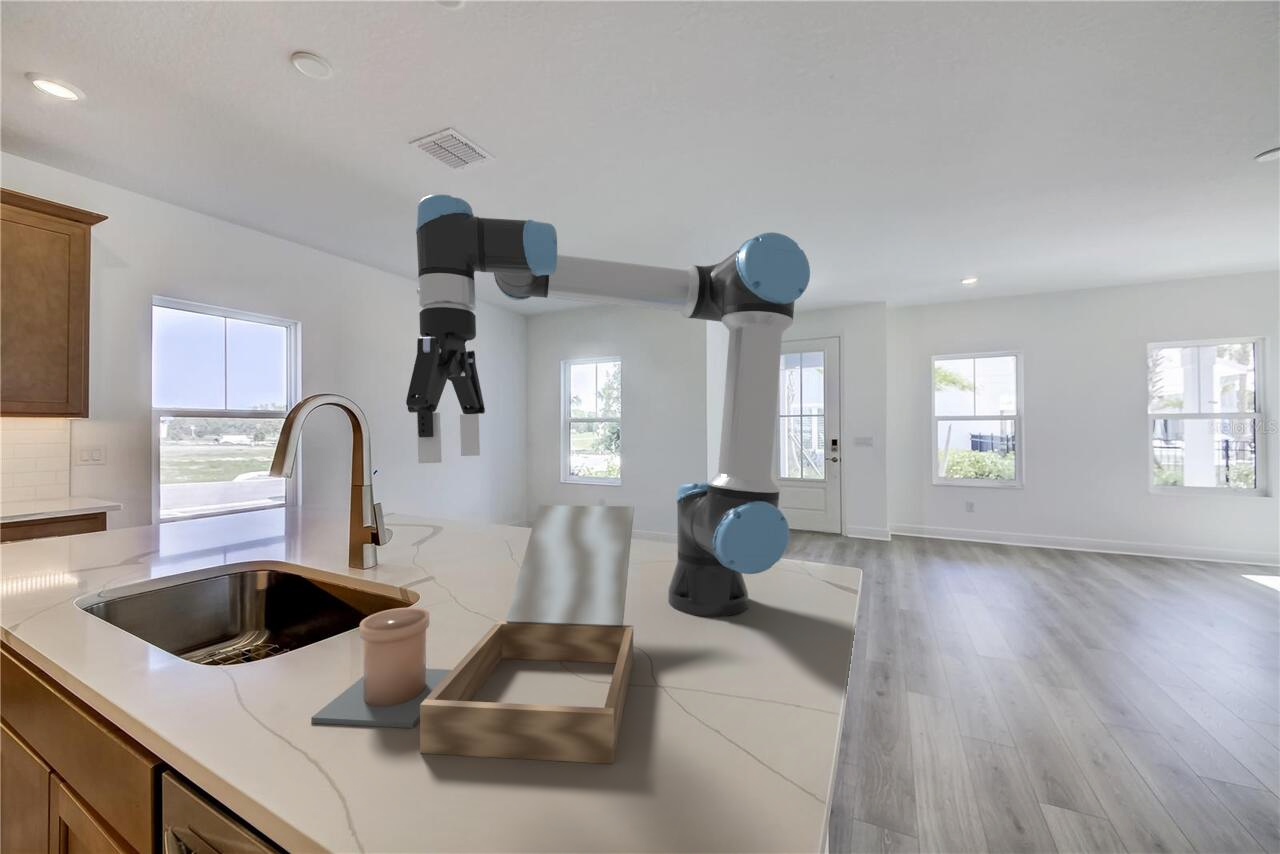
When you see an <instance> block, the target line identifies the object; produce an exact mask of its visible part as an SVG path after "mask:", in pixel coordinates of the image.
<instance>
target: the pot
mask: <svg viewBox="0 0 1280 854" xmlns="http://www.w3.org/2000/svg"><path fill="white" fill-rule="evenodd" d="M429 627H430V612H429V611H428V610H426V609H424V608H419V607H399V608H391V609H386V610H382V611H378V612H376V613H372V614H370V615H369V616H367V617H365V618H364V619H362V620H361V621H360V623H359V637H360V639H361V640H363V644H362V645H363V647H362V648H363V659H362V660H363V661H362V662H363V667H362V668H363V671H362V672H363V676H364V702H365V703H367V704H368V705H371V706H376V707H387V706H394V705H398V704H402V703H405V702H407V701H410V700H412V699H414V698H416V697H417V696H419V695H420V694H421V693H422V692H423V691H424V690H425V688H426V669H427V629H428V628H429Z"/></svg>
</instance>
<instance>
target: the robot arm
mask: <svg viewBox="0 0 1280 854" xmlns="http://www.w3.org/2000/svg"><path fill="white" fill-rule="evenodd" d="M416 215H417V220H416V221H417V222H416V223H417V224H416V229H415V232H416V233H415V235H416V247H417V248H416V249H417V251H416V252H417V268H418V269H417V270H418V271H417V273H418V288H417V290H416V294H417V295H418V298H419V307H420V308H422V310H421V311H420V312H419V315H418V316H419V335H420V336H421V337H417V345H416V347H417V348H416V349H417V351H416V357H415V360H414V365H413V371H412V373H411V379H410V382H409V386H408V387H409V388H408V391H407V396H406V400H405V404H406V406H407V411H408V412H409V413H411V414H412V413H416V420H417V421H416V424H417V425H416V426H417V454H418V455H417V456H418V457H417V459H418V464H441V463H442V436H441V432H442V431H441V412H436V411H437V409H438V406H439V403H440V401H441V398H442V395H443V391H444V390H445V386H446V384H447V381H450V382H451V384H452V386H453V389H454V393H455V395H456V397H457V401H458V403H459V405H460V408H461V411H462V414H459V427H460V429H459V430H460V434H459V435H460V456H461V457H472V456H474V457H475V456H476V457H477V456H480V454H481V451H480V449H481V448H480V447H481V446H480V444H481V443H480V418H479V417H480V415H481V414H482V415H484V414H485V412H486V408H485V403H484V399H483V394H482V389H481V383H480V379H479V374H478V368H477V363H476V352H475V350H472V349H471V350H467V349H466V343H467V342H468V341H473V340H474V339H475V338H476V336H477V326H476V325H477V322H476V321H477V319H476V318H477V317H476V314H475V313H474V312H473V311H475V310H476V285H475V284H476V283H475V282H476V281H475V272H480V273H493V276H494V280H495V283H496V285H497V288H498V289H499V291H500V292H501V293H502V294H503V295H504V296H505V297H506V298H508V299H510V300H513V301H525V300H527V299H529V298H532V297H533V298H534V297H535V298H545V299H546V298H547V299H554V300H555V299H556V300H566V301H575V302H584V303H593V304H602V305H603V304H604V305H611V306H613V305H614V306H624V307H635V308H641V309H642V308H643V309H652V310H662V311H672V312H679V313H680V314H681V315H682V317H684V318H687V319H696V320H705V321H712V322H713V321H714V322H721V323H722V324H723V325H724V326H725V328H726V329H727V330H728V332H729V334H728V335H729V336H728V346H727V359H726V369H725V370H726V371H725V382H724V383H725V384H724V393H723V394H724V397H723V408H722V409H723V410H722V418H721V419H722V421H721V432H720V433H721V434H720V446H719V457H718V468H717V469H718V471H717V474H715V476H714V477H712V478H711V479H710V480H709V481H708V482H701V483H699V482H698V483H697V482H696V483H695V482H694V483H683V484H681V485H680V486H679V487H678V491H677V499H676V504H677V505H676V506H677V561H676V565H675V568H674V571H673V575H672V578H671V581H670V584H669V587H668V598H667V599H668V603H669V605H670V607H672V608H673V609H674V610H676V611H679V612H681V613H685V614H689V615H692V616H699V617H710V618H711V617H712V618H714V617H728V616H733V615H736V614H740V613H742V612H744V611H746V610H747V609H748V607H749V592H748V589H747V585H746V582H745V579H744V575H755V574H760V573H763V572H765V571H768V570H770V569H771V568H772V567H773V566H775V564H776V563H778V562H779V561H780V560H781V559H782V557H783V556H784V554H785V552H786V550H787V548H788V544H789V541H790V526H789V523H788V521H787V519H786V517H785V516H784V514H783V512H782V511H781V509H779V502H780V501H779V500H780V488H779V486H777V485H776V484H775V482H774V481H773V480H772V468H773V467H772V466H773V454H774V453H773V452H774V443H775V442H774V441H775V429H776V417H777V416H776V414H777V404H778V403H777V402H778V392H779V389H778V388H779V379H780V365H781V355H782V354H781V353H782V339H783V334H784V332H785V331H786V330H788V329H789V328H790V327H791V326H792V325H793V323H794V314H795V313H794V312H795V303H796V302H795V301H796V300H797V299H799V298H801V297H802V296H803V294H804V292H805V291H806V290H807V288H808V285H809V283H810V278H811V268H810V262H809V259H808V257H807V255H806V253H805V251H804V250H803V249H801V247H800V246H799V245H798V243H797V242H796V241H795V240H794V239H793V238H791V237H789V236H787V235H785V234H784V233H779V232H773V231H772V232H771V231H770V232H763V233H761V234H758V235H756V236H754V237H753V238H749V239H748V240H746V241H745V242H744V243H742V244H741V245H740V246H739V248H738V249H737V250H735V251H734V252H733V253H732V254H730V255H729V256H728V257H726V258H725V259H724V260H722V261H721V262H718V263H716V264H711V265H694V264H691V265H689V266H688V267H686V268H685V269H679V268H671V267H662V266H656V265H654V266H653V265H648V264H647V265H645V264H637V263H631V262H630V263H629V262H621V261H614V260H605V259H597V258H588V257H581V256H573V255H564V254H558V237H557V236H558V234H557V229H556V227H555V226H554V225H553V224H552V223H550V222H543V221H535V220H533V219H528V220H523V219H520V220H519V219H509V218H508V219H507V218H506V219H505V218H490V217H479V216H475V215H474V212H473V207H471V205H470V204H469V202H468V201H466V200H465V199H463V198H461V197H453V196H451V195H449V194H443V193H442V194H441V193H440V194H431V195H427V196H426V197H423V198H422V199H421V200H419V202H418V205H417V214H416ZM479 414H480V415H479ZM743 574H744V575H743Z"/></svg>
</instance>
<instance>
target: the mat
mask: <svg viewBox="0 0 1280 854" xmlns="http://www.w3.org/2000/svg"><path fill="white" fill-rule="evenodd" d="M452 670H453V669H443V668H426V688H425V690H424V691H423V692H422V693H421V694H420V695H419V696H417V697H416V698H414V699H412V700H410V701H407V702H405V703H402V704H398V705H394V706H387V707H376V706H371V705H368V704H367V703H365V702H364V675H363V676H362V677H360V679H358V680H357V681H355V682H354V683H353V684H352V685H351V686H348V688H346V689H345V690H344V691H343V692H341V693H339V695H337V697H335V698H334V699H332V701H331V702H329V703H328V704H326V705H325V706H324V707H322V708H321V709H320V710H319V711H318V712H316V713H315V714H314V715H312V716H311V717H310V718H311V719H310V720H311V724H328V725H346V726H347V725H349V726H363V727H364V726H365V727H366V726H367V727H369V726H370V727H386V728H387V727H388V728H401V729H403V728H405V729H414V727H415V726H416V725H417V724H418V723H420V704H421V703H422V702H423V701H424V700H425V699H426V698H427V697H428V696H429V694H430V693H431V692H432V691H433V690H434V689H435V688H436V687H437V686H438V685H439V684H440V683H441V682H442V680H443V679H444V678H445V677H446V676H447V675H448V674H449V673H450V672H451V671H452Z"/></svg>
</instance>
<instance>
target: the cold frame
mask: <svg viewBox="0 0 1280 854" xmlns="http://www.w3.org/2000/svg"><path fill="white" fill-rule="evenodd" d="M634 508H635V507H634V506H622V505H621V506H620V505H617V506H614V505H613V506H611V505H610V506H609V505H556V504H553V505H550V504H549V505H548V504H545V505H544V504H542V505H541V504H539V505H538V506H537V511H536V514H535V518H534V521H533V524H532V528H531V531H530V535H529V538H528V542H527V546H526V550H525V553H524V556H523V560H522V563H521V565H520V566H521V567H520V570H519V574H518V576H517V581H516V585H515V588H514V590H513V591H514V592H513V595H512V598H511V603H510V605H509V610H508V611H507V612H508V613H507V616H506V620H505V621H504V620H497V621H496V623H494V625H493V626H492V627H491V628H490V629H488V631H487V632H486V633H485V634H484V635H483V637H481V638H480V640H478V642H477V643H475V645H474V646H473V647H472V648H471V649H470V650H469V651H468V652H467V653H466V654H465V656H464V657H463V658H462V659H461V660H460V661H459V662H458V663H457V665H456V666H455V667H454V668H453V669H451V670H452V671H451V672H450V673H449V674H448V675H447V676H446V677H445V678H444V679H443V680H442V682H441V683H440V684H439V685H438V686H437V687H436V688H435V689H434V690H433V691H432V692H431V693H430V694H429V696H428V697H427V698H426V699H425V700H424V701H423V702H422V703H421V704H420V721H419V753H420V754H429V755H430V754H431V755H445V756H447V755H448V756H449V755H450V756H463V757H464V756H465V757H466V756H468V757H484V758H485V757H487V758H501V759H503V758H504V759H517V760H518V759H519V760H522V759H523V760H537V761H538V760H539V761H553V762H554V761H555V762H557V761H558V762H572V763H573V762H574V763H575V762H576V763H592V764H609V765H613V764H614V758H615V754H616V749H617V744H618V743H617V742H618V740H619V739H618V738H619V735H620V734H619V732H620V728H621V723H622V719H623V715H624V710H625V709H624V708H625V703H626V700H627V699H626V698H627V693H628V688H629V683H630V678H631V674H632V673H631V672H632V668H633V664H634V625H628V624H627V625H625V624H624V618H625V606H626V597H627V596H626V595H627V587H628V576H629V575H628V574H629V566H630V565H629V564H630V554H631V543H632V542H631V541H632V535H633V534H632V533H633V532H632V531H633V524H634V523H633V522H634V514H635V513H634V511H635V509H634ZM503 659H506V660H508V659H510V660H514V659H515V660H531V661H532V660H534V661H555V662H556V661H558V662H579V663H581V662H583V663H584V662H585V663H607V664H609V663H610V664H612V663H613V664H615V666H614V669H613V670H614V671H613V674H612V677H611V681H610V685H609V688H608V692H607V695H606V699H605V703H604V707H596V706H595V707H594V706H576V705H575V706H574V705H554V704H552V705H551V704H549V705H548V704H533V703H531V704H530V703H528V704H527V703H511V702H490V701H489V702H488V701H487V702H485V701H471V700H472V698H473V697H474V696H475V694H476V693H477V692H478V691H479V689H481V687H482V686H483V684H484V683H485V681H487V679H488V678H489V676H490V675H491V673H492V672H493V671H494V670H495V668H496V667H497V665H498V664H499V663H500V662H501V660H503Z"/></svg>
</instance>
